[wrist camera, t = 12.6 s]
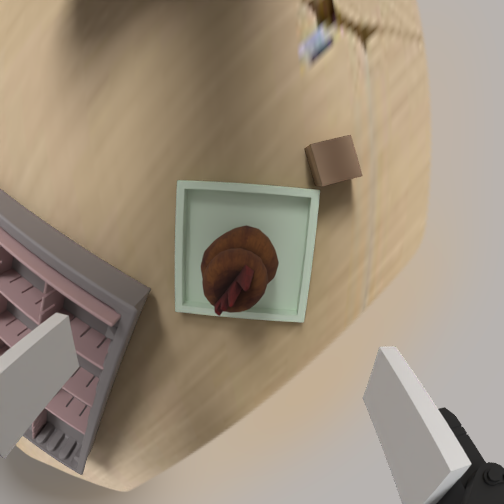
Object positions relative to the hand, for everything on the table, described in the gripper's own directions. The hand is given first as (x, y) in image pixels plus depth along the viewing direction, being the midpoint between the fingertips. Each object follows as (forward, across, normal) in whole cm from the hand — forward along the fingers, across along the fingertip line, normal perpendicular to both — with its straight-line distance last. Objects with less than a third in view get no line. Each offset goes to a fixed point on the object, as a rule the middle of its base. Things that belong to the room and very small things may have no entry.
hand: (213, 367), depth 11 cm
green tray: (+22, 0, 0) cm, 22 cm away
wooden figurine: (+21, 0, 0) cm, 21 cm away
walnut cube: (+22, +8, +10) cm, 25 cm away
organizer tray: (+22, -32, -17) cm, 42 cm away
